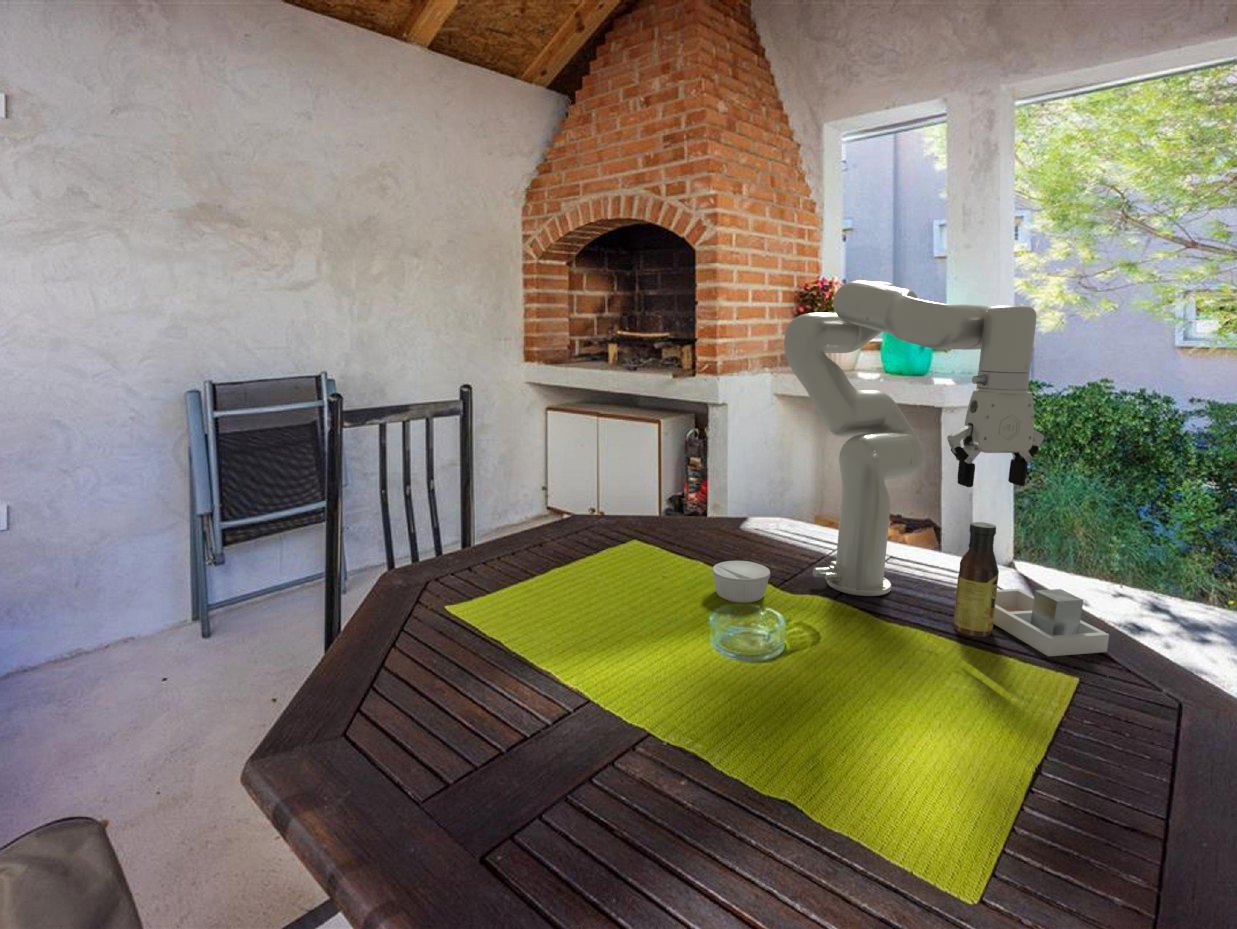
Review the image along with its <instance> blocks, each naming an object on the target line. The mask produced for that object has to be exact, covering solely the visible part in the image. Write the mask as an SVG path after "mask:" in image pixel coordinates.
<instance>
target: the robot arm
mask: <svg viewBox="0 0 1237 929" xmlns="http://www.w3.org/2000/svg"><path fill="white" fill-rule="evenodd" d="M832 307H833V311H834V312H808V313H803V314H800V315H798V316H796V317H794V318H793V319H792V320H791V321H790V322H789V324H788V325H787V327H786V330H785V332H784V339H783V340H784V341H783V347H784V354H785V358H786V361H787V363H788V366H789V367H790V369H791V371H792V373H793V374H794V375H795V377H796V378H797V379H798V381H799V382H800V384H801V385H802V386H803V387H804V389H805V391H806V392H807V394H808V396H809V398H810V401H811V402H812V403H813V406H814V407H815V409H816V411H817V412H818V415H819V416H820V418H821V420H822V421H823V423H824V425H825V426H826V428H827V429H828V431H829V432H830V433H831V434H832V435H833V436H837V437H840V438H848V439H847V440H846V441H845V442H844V443H843V444H842V447H841V448H840V450H839V456H838V457H839V458H838V463H839V464H838V465H839V471H840V472H839V473H840V479H841V480H840V482H841V485H840V486H841V492H840V496H841V497H840V511H839V520H838V522H839V523H838V535H837V536H838V537H837V546H836V547H837V548H836V560H832V561H831V562H830V565H827V566H826V567H822V566H821V567H813V569H812V575H813V577H814V578H820V577H821V578H822V577H824V579H825V580H826V583H827V585H828V586H829V587H831V588H832V589H834V590H835V591H839V592H841V593H845V594H848V595H853V596H860V597H879V596H883V595H887V594H888V593H890V592H891V590H892V583H891V581H890V580H888V579H887V578H886V577H884V576H885V569H886V568H885V566H886V558H887V557H886V556H887V548H888V539H889V537H888V536H889V528H890V526H889V525H890V516H891V514H890V513H891V498H890V494H889V491H888V489H887V486H886V481H887V480H895V479H901V478H906V477H911V476H913V475H914V474H916V473H917V472H918V471H919V470H920V469H921V467H922V465H923V462H924V449H923V446H922V443H921V441H920V439H919V437H918V435H917V434H916V432H915V431H914V429H913V428H912V426H911V424H910V423H909V421H908V420H907V418H906V416H905V415H904V413H903V412H902V410H901V409H900V407H899V406H898V403H897V402H896V401H895V400H894V399H893V398H892V397H891V396H890V395H889V394H887V393H886V392H884V391H881V390H875V389H867V390H866V389H862V390H860V389H857V388H856V387H855V386H854V385H853V384H852V383H851V382H850V380H849V379H848V377H847V374H846V373H845V371H844V370H843V369H842V367H840V366H839V365H838V364H837V363H836V362H835V361H833V359H832V358H830V357H828V356H827V355H826V354H848V353H852V352H855V351H857V350H859V349H861V348H863V347H864V346H865V345H867V344H868V343H869V342H870V341H872V340H873V339H875V338H876V337H877V336H879V334H881V333H887V334H889V335H892V336H893V337H894V338H896V339H897V340H900V341H902V342H905V343H909V344H913V345H917V346H921V347H924V348H929V349H933V350H940V351H942V350H943V351H945V350H963V351H967V350H972V351H973V350H980V352H979V353H980V354H979V363H978V371H977V375H973V376H972V379H971V381H972V384H976V389H974V390H973V391H972V393H971V397H970V400H969V403H968V406H967V410H966V415H965V419H964V426H963V427H961V428H960V429H958V430H956V431H954V432H952V433H950V434H949V435H947V438H946V439H947V442H948V445H949V447H950V452H951V453H952V454H953V456H954V457H955V459H956V461H958V470H957V484H958V485H960V486H963V487H966V488H972V487H973V486H974V479H975V472H976V464H975V463H973V462H974V460H976V458H977V457H978V455H979V454H980V453H984V454H1007V453H1008V454H1009V453H1010V454H1012V456H1013V458H1011V460H1010V464H1009V470H1008V471H1009V472H1008V479H1007V480H1008V483H1011V484H1013V485H1016V486H1019V487H1020V486H1021V487H1024V486H1025V484H1026V478H1027V472H1028V471H1027V470H1028V463H1031V462H1032V460H1033V457H1034V456H1035V455H1036V454H1037V453H1038V452H1039V450H1040V448H1039V447H1040V446H1041V445H1042V443H1043V441H1044V440H1045V435H1044V434H1043V433H1041V432H1039V431H1037V430H1036V429H1035V428H1034V424H1035V422H1034V421H1035V419H1034V418H1035V408H1034V398H1033V392H1032V391H1029V382H1030V374H1031V368H1032V367H1031V366H1032V359H1033V358H1032V357H1033V350H1034V342H1035V335H1036V334H1035V333H1036V324H1037V310H1035V309H1034V308H1033V307H1032V306H1028V305H995V306H988V305H979V304H964V303H963V304H960V303H941V302H936V301H935V302H934V301H929V300H924V299H920V298H919V297H918V296H917V294H916V293H915V292H914V291H913V290H911V289H908V288H902V287H898V286H897V285H895V284H894V283H890V282H888V281H874V280H873V281H871V280H853V281H852V280H851V281H849V282H847V283H844V284H843V285H841V286H840V287H839V288H838V289H837V290H836V292H835V293H834V295H833V299H832ZM961 441H962V443H961ZM962 444H963V447H962Z"/></svg>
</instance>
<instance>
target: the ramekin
mask: <svg viewBox="0 0 1237 929" xmlns="http://www.w3.org/2000/svg"><path fill="white" fill-rule="evenodd" d="M711 573H712V576H713V580H714V588H715V592H716V594H717V595H718V596H719V597H720V598H721V599H723V600H726V601H729V602H734V603H740V604H742V603H743V604H744V603H746V604H747V603H754V601H755V602H757V601H759V600H762V599H763V597H765V595H766V591H767V587H768V584H769V583H768V582H769V579H770V578H771V571H770V569H769V567H767V566H765V565H763V564H761V563H760V564H759V563H756V562H754V561H753V562H752V561H748V560H747V561H746V560H729V561H728V560H727V561H722V562H719V563H718V562H717V563H716V564H714V566H713V567H712V570H711Z"/></svg>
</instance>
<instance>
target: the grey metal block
mask: <svg viewBox="0 0 1237 929" xmlns="http://www.w3.org/2000/svg"><path fill="white" fill-rule="evenodd" d="M1033 596H1034V602H1033V609H1032V616H1031V623H1030V624H1031V625H1033V626H1035V627H1037V628H1039V629H1040V630H1042V631H1044V632H1046V633H1047V634H1049V635H1051V636H1056V635H1070V634H1078V633H1079V626H1080V620H1082V618H1081V617H1082V613H1083V606H1084V599H1083V598H1080V597H1078V596H1076V595H1074V594H1072V593H1070V592H1068V591H1066V590H1064V589H1061V588H1058V589H1057V588H1053V589H1038V590H1037V589H1036V590H1034V595H1033Z"/></svg>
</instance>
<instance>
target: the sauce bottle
mask: <svg viewBox="0 0 1237 929" xmlns="http://www.w3.org/2000/svg"><path fill="white" fill-rule="evenodd" d="M969 533H970V534H969V535H970V536H969V543H968V550H967V551H966V552H965V553H964V555H963V556H962V557H961V559H960V561H959V571H958V572H959V573H958V575H957V583H956V584H957V585H956V592H955V604H954V616H953V624H954V626H953V628H954V630H956V631H957V632H959V633H961V634H963V635H967V636H971V637H977V638H985V637H990V636H991V634H992V630H993V629H994V628H993V627H994V624H993V621H994V612H995V604H996V594H997V590H998V583H999V574H1000V572H999V568H998V563H997V559H996V555H995V551H994V542H995V536H996V534H997V526H996V524H993V523H988V522H983V521H981V522H980V521H976V522H970V525H969Z"/></svg>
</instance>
